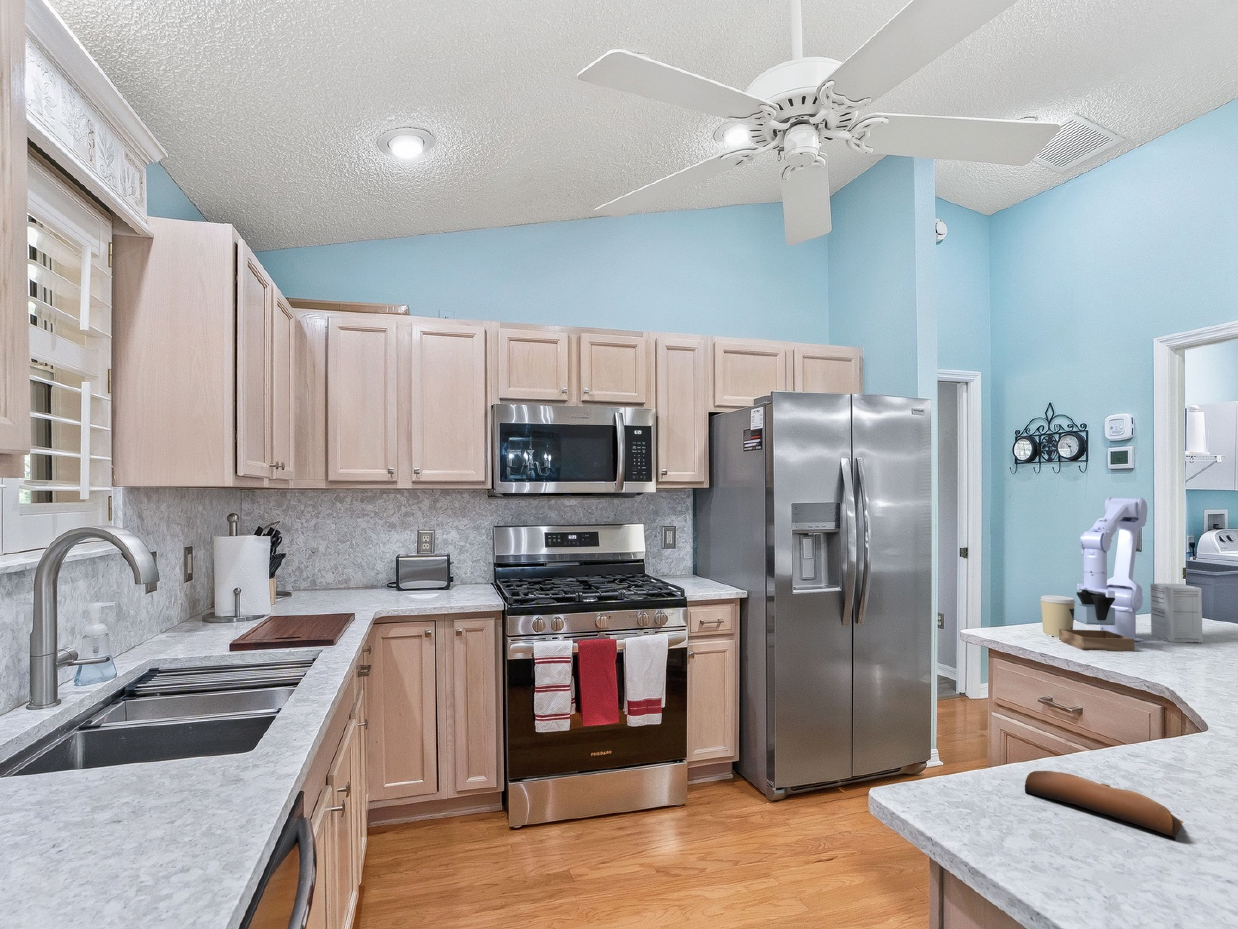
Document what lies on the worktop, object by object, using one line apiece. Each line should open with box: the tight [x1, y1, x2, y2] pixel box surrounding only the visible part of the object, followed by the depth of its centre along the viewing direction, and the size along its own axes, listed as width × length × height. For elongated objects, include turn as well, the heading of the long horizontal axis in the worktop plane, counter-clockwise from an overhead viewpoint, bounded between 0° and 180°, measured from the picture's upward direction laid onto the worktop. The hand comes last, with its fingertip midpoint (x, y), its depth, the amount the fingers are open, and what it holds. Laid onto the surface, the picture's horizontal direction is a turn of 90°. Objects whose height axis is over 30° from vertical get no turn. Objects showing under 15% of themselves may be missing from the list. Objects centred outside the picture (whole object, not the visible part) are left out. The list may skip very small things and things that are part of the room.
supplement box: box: [1149, 583, 1203, 644], centre depth 213 cm, size 10×9×17 cm
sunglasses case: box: [1024, 770, 1184, 841], centre depth 99 cm, size 18×7×7 cm, turn 41°
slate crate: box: [1075, 603, 1115, 626], centre depth 202 cm, size 5×8×5 cm, turn 86°
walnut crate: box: [1058, 629, 1135, 652], centre depth 202 cm, size 12×14×4 cm
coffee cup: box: [1039, 594, 1076, 638], centre depth 216 cm, size 9×9×12 cm
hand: (1095, 618), depth 202 cm, fingers closed on slate crate, 5 cm apart
